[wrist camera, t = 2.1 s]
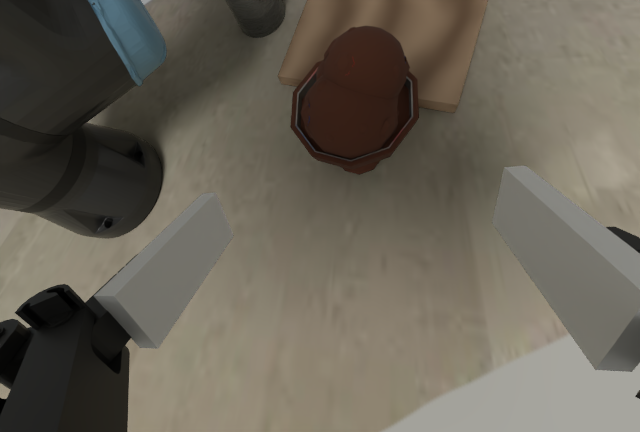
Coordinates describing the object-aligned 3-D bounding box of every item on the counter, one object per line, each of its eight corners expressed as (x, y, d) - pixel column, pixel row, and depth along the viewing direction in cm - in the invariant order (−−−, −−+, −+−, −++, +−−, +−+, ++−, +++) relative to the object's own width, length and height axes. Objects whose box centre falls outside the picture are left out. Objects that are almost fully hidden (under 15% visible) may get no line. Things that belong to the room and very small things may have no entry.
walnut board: (281, 83, 36) (277, 75, 34) (315, -3, 37) (312, -14, 36) (454, 113, 30) (458, 105, 28) (484, 8, 32) (489, -4, 30)
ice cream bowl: (330, 103, 33) (295, -22, 19) (420, 122, 31) (458, -10, 16) (301, 180, 32) (240, 107, 18) (391, 207, 29) (405, 146, 15)
